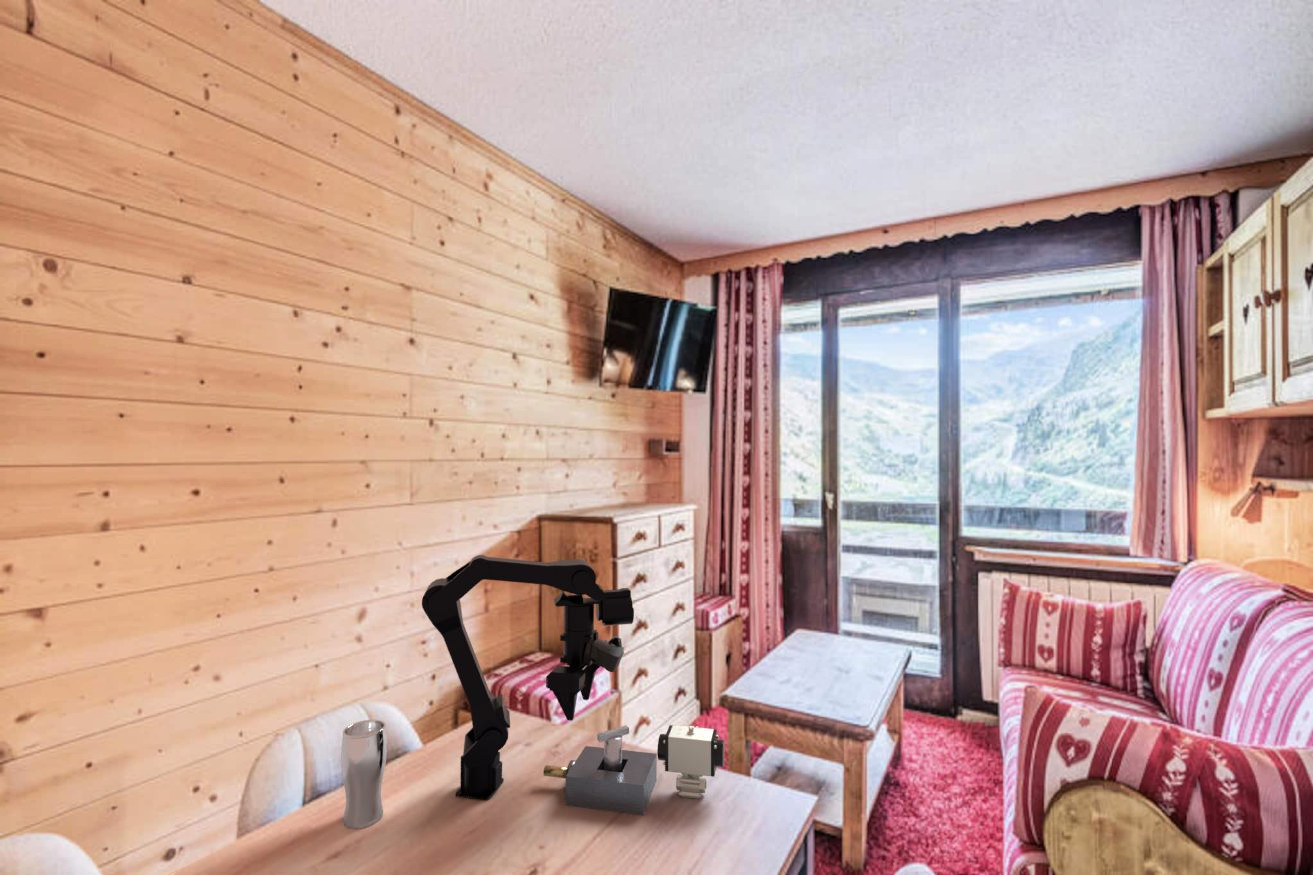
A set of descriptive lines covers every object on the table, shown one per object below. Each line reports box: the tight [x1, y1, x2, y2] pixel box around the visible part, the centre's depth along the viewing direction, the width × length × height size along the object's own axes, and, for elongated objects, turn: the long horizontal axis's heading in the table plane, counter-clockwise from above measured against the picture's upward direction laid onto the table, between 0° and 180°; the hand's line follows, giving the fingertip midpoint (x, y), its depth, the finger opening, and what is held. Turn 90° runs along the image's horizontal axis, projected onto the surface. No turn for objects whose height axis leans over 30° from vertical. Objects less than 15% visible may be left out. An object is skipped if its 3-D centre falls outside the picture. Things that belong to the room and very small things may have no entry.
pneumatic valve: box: [656, 724, 726, 800], centre depth 110 cm, size 6×12×12 cm, turn 78°
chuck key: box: [596, 724, 630, 772], centre depth 109 cm, size 6×3×9 cm, turn 124°
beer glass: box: [340, 719, 388, 830], centre depth 102 cm, size 7×7×15 cm
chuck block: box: [543, 745, 658, 816], centre depth 110 cm, size 20×11×5 cm, turn 78°
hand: (578, 709), depth 115 cm, fingers open, 9 cm apart
